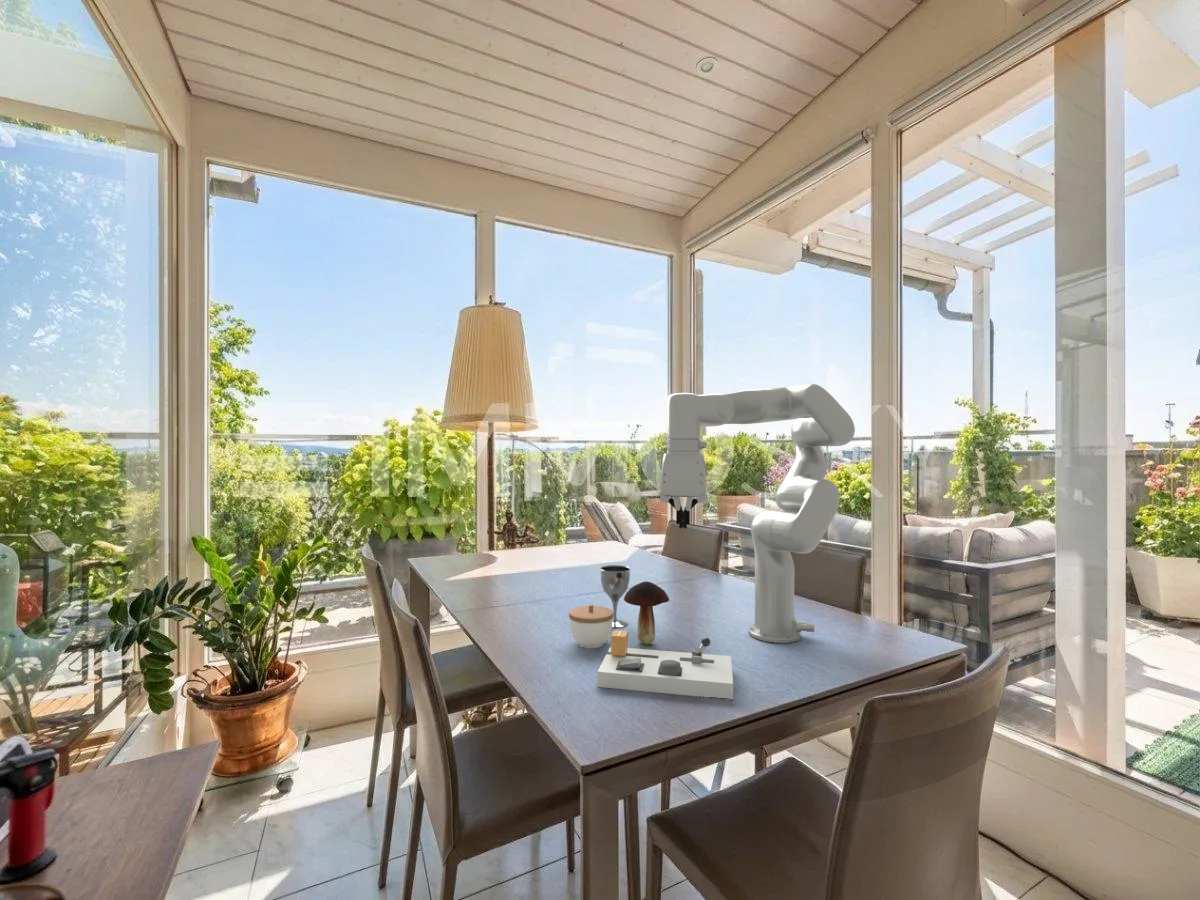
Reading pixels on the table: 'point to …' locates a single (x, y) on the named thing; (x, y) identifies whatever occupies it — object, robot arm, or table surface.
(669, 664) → the button
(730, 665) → the panel
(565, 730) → the table surface
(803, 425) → the robot arm
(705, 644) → the lever
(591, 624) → the lidded jar
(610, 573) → the wine glass
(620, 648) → the slider
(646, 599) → the decorative mushroom
